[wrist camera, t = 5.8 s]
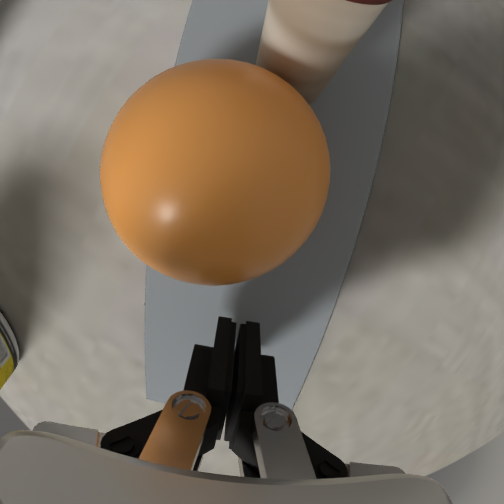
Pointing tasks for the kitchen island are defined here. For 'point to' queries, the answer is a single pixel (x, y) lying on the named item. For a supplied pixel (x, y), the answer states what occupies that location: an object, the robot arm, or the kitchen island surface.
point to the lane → (322, 237)
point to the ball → (215, 172)
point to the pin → (313, 39)
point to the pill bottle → (7, 351)
